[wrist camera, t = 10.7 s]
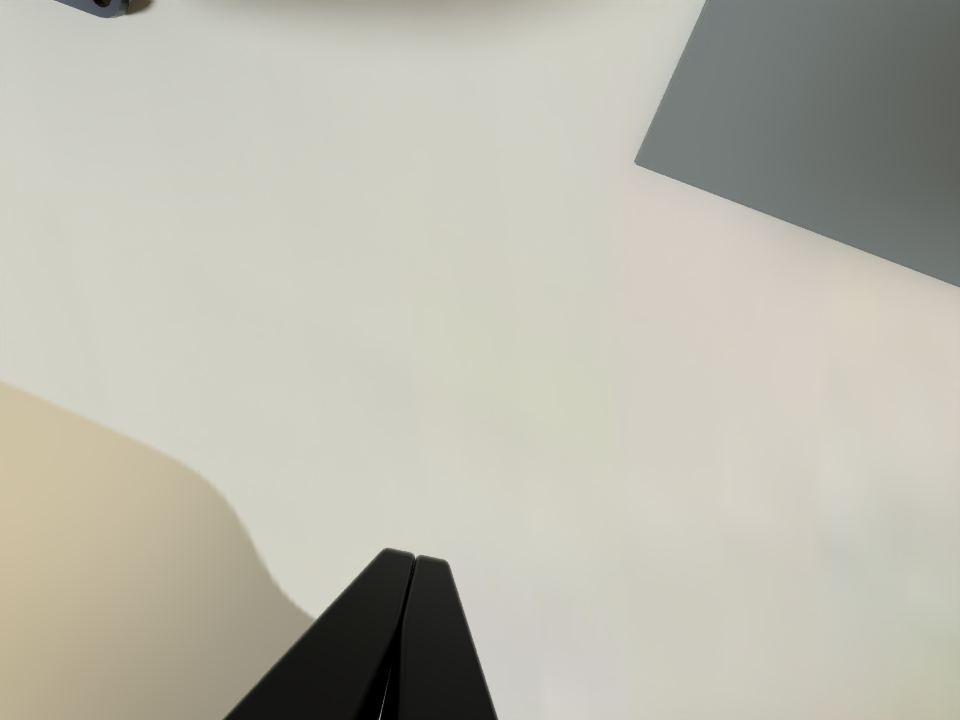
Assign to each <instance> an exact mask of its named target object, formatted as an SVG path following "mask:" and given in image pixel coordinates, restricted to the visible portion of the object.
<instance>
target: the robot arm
mask: <svg viewBox="0 0 960 720" xmlns="http://www.w3.org/2000/svg"><path fill="white" fill-rule="evenodd" d="M55 1H58V2H61V3H63V4H66V5H69V6H71V7H74V8H77V9H79V10H82V11H85V12H88V13H90V14H93V15H96V16H98V17H103V18H116V17H119V16H122V15H123V14H124V13H125V12H126V11H127V8H128V5H129V0H111V2H110V5H109V6H107V5H106V4H104V3H103V1H102V0H55ZM414 562H415V563H414ZM413 567H414V568H413ZM412 571H413V572H412ZM410 580H411V581H410ZM389 674H390V675H389ZM387 683H388V684H387ZM386 688H387V689H386ZM385 692H386V693H385ZM384 697H385V698H384ZM383 701H384V703H383ZM382 705H383V707H382ZM381 710H382V712H381ZM380 714H381V717H380ZM379 718H380V720H498V718H497V714H496V711H495V708H494V705H493V702H492V698H491V695H490V692H489V689H488V686H487V683H486V679H485V676H484V673H483V670H482V667H481V664H480V660H479V657H478V654H477V651H476V648H475V645H474V641H473V638H472V635H471V632H470V629H469V626H468V622H467V619H466V616H465V613H464V610H463V607H462V603H461V600H460V597H459V594H458V591H457V588H456V584H455V581H454V578H453V575H452V572H451V569H450V566H449V564H448V562H447V561H446V560H443V559H438V558H434V557H429V556H424V555H419V556H418V557H417V558H416V560H415V556H414V554H413V553H410V552H406V551H401V550H396V549H392V548H385V549H383V550H382V551H381V552H380V553H379V554H378V555H377V556H376V557H375V558H374V559H373V560H372V561H371V562H370V563H369V564H368V566H367V567H366V568H365V569H364V570H363V571H362V572H361V573H360V574H359V575H358V576H357V577H356V578H355V579H354V580H353V581H352V583H351V584H350V585H349V586H348V587H347V588H346V589H345V590H344V591H343V592H342V593H341V594H340V595H339V596H338V597H337V598H336V599H335V601H334V602H333V603H332V604H331V605H330V606H329V607H328V608H327V609H326V610H325V611H324V612H323V613H322V614H321V615H320V616H319V618H318V619H317V620H316V621H315V622H314V623H313V624H312V625H311V626H310V627H309V628H308V629H307V630H306V631H305V632H304V633H303V634H302V636H301V637H300V638H299V639H298V640H297V641H296V642H295V643H294V644H293V645H292V646H291V647H290V648H289V650H287V652H286V653H285V654H284V655H283V656H282V657H281V658H280V659H279V660H278V661H277V662H276V663H275V664H274V665H273V666H272V667H271V668H270V669H269V671H268V672H267V673H266V674H265V675H264V676H263V677H262V678H261V679H260V680H259V681H258V682H257V683H256V684H255V686H253V688H252V689H251V690H250V691H249V692H248V693H247V694H246V695H245V696H244V697H243V698H242V699H241V700H240V701H239V703H237V704H236V706H235V707H234V708H233V709H232V710H231V711H230V712H229V713H228V714H227V715H226V716H225V717H224V718H223V720H379Z"/></svg>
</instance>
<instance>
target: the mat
mask: <svg viewBox="0 0 960 720" xmlns="http://www.w3.org/2000/svg"><path fill="white" fill-rule="evenodd" d="M634 162H635V163H636V165H639V166H641V167H644V168H647V169H649V170H652V171H655V172H657V173H660V174H663V175H665V176H668V177H670V178H673V179H676V180H678V181H681V182H684V183H686V184H689V185H691V186H694V187H697V188H699V189H702V190H705V191H707V192H710V193H713V194H715V195H718V196H720V197H723V198H726V199H728V200H731V201H734V202H736V203H739V204H742V205H744V206H747V207H749V208H752V209H755V210H757V211H760V212H763V213H765V214H768V215H771V216H773V217H776V218H778V219H781V220H784V221H786V222H789V223H792V224H794V225H797V226H800V227H802V228H805V229H807V230H810V231H813V232H815V233H818V234H821V235H823V236H826V237H829V238H831V239H834V240H836V241H839V242H842V243H844V244H847V245H850V246H852V247H855V248H858V249H860V250H863V251H865V252H868V253H871V254H873V255H876V256H879V257H881V258H884V259H887V260H889V261H892V262H894V263H897V264H900V265H902V266H905V267H908V268H910V269H913V270H915V271H918V272H921V273H923V274H926V275H929V276H931V277H934V278H937V279H939V280H942V281H944V282H947V283H950V284H952V285H955V286H958V287H960V0H706V2H705V5H704V7H703V9H702V11H701V13H700V16H699V18H698V20H697V22H696V25H695V27H694V29H693V31H692V34H691V36H690V38H689V40H688V43H687V45H686V47H685V49H684V51H683V54H682V56H681V58H680V60H679V63H678V65H677V67H676V69H675V72H674V74H673V76H672V78H671V81H670V83H669V85H668V87H667V89H666V92H665V94H664V96H663V98H662V101H661V103H660V105H659V107H658V110H657V112H656V114H655V116H654V118H653V121H652V123H651V125H650V127H649V130H648V132H647V134H646V136H645V139H644V141H643V143H642V145H641V148H640V150H639V152H638V154H637V156H636V159H635V161H634Z"/></svg>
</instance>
